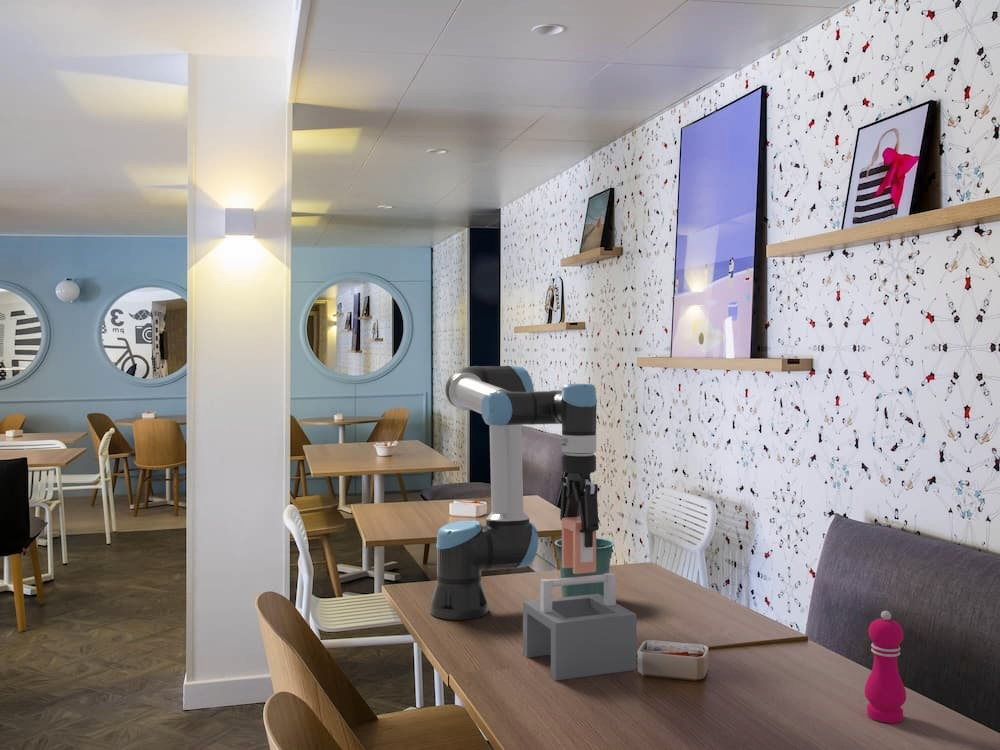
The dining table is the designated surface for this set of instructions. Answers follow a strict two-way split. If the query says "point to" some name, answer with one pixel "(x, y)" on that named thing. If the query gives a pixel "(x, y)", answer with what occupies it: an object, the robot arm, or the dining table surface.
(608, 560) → the flower pot
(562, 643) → the gray square frame
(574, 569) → the coral u-channel block
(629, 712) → the dining table surface
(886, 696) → the pepper mill
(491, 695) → the dining table surface
